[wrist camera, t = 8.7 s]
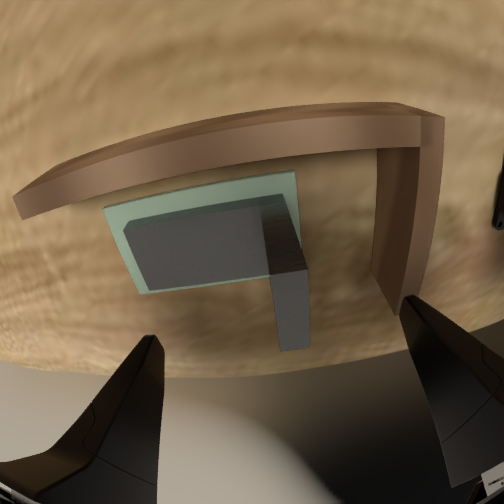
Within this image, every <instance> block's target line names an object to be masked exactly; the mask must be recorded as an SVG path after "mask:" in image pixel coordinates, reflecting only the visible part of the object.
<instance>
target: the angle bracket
mask: <svg viewBox="0 0 504 504" xmlns="http://www.w3.org/2000/svg"><path fill="white" fill-rule="evenodd" d="M123 232H124V235H125V237H126V240H127V242H128V244H129V247H130V249H131V251H132V254H133V256H134V258H135V261H136V263H137V265H138V268H139V270H140V272H141V274H142V276H143V279H144V281H145V283H146V285H147V287H148V289H149V291H153V290H161V289H169V288H177V287H184V286H192V285H200V284H207V283H214V282H222V281H229V280H236V279H243V278H250V277H257V276H264V275H269V276H270V282H271V289H272V296H273V303H274V310H275V316H276V323H277V330H278V337H279V345H280V352H282V351H289V350H295V349H301V348H307V347H310V311H309V280H308V268H307V265H306V261H305V258H304V255H303V252H302V249H301V246H300V243H299V240H298V237H297V234H296V231H295V228H294V225H293V222H292V219H291V216H290V213H289V210H288V207H287V204H286V202H285V199H284V196H283V193H281V194H274V195H268V196H261V197H254V198H248V199H242V200H236V201H230V202H224V203H218V204H212V205H206V206H201V207H195V208H190V209H184V210H179V211H174V212H169V213H164V214H159V215H154V216H149V217H144V218H139V219H135V220H130V221H128V223H127V224H126V226H125V228H124V229H123Z"/></svg>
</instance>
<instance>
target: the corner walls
mask: <svg viewBox="0 0 504 504" xmlns="http://www.w3.org/2000/svg"><path fill="white" fill-rule="evenodd" d="M444 129H445V117H442V116H439V115H436V114H433V113H430V112H427V111H424V110H421V109H417V108H414V107H411V106H407V105H403V104H400V103H390V102H356V103H330V104H314V105H302V106H292V107H282V108H274V109H266V110H259V111H252V112H245V113H239V114H233V115H227V116H222V117H217V118H212V119H207V120H202V121H197V122H193V123H188V124H184V125H180V126H175V127H171V128H167V129H163V130H160V131H156V132H152V133H149V134H145V135H142V136H138V137H135V138H131V139H128V140H125V141H122V142H119V143H115V144H112V145H109V146H106V147H104V148H101V149H98V150H95V151H92V152H89V153H87V154H84V155H81V156H79V157H76V158H73V159H71V160H68V161H66V162H63V163H61V164H59V165H56V166H54V167H53V168H51V169H50V170H48V171H47V172H46V173H44V174H43V175H41V176H40V177H38V178H37V179H35V180H34V181H33V182H31V183H30V184H29V185H27V186H26V187H25V188H23V189H22V190H21V191H19V192H18V193H17V194H15V195H14V196H13V200H14V202H15V205H16V207H17V210H18V212H19V214H20V216H21V219H22V220H25V219H27V218H30V217H33V216H36V215H38V214H41V213H44V212H47V211H50V210H53V209H56V208H59V207H62V206H65V205H68V204H71V203H74V202H78V201H81V200H84V199H88V198H91V197H94V196H98V195H101V194H105V193H108V192H112V191H116V190H119V189H123V188H127V187H131V186H135V185H139V184H143V183H147V182H151V181H155V180H159V179H164V178H168V177H173V176H177V175H182V174H186V173H191V172H196V171H201V170H206V169H212V168H217V167H222V166H228V165H234V164H240V163H246V162H252V161H259V160H266V159H273V158H280V157H287V156H295V155H304V154H313V153H322V152H333V151H344V150H358V149H373V148H377V198H376V217H375V231H374V243H373V253H372V263H371V272H372V274H373V275H374V277H375V279H376V281H377V283H378V284H379V286H380V288H381V290H382V292H383V294H384V296H385V298H386V299H387V301H388V303H389V305H390V307H391V309H392V311H393V313H394V315H395V316H396V315H399V311H400V307H401V304H402V300H403V298H404V297H405V296H408V295H415V296H417V297H418V294H419V291H420V287H421V284H422V280H423V276H424V272H425V268H426V264H427V259H428V255H429V250H430V246H431V241H432V236H433V231H434V225H435V219H436V213H437V207H438V200H439V192H440V184H441V175H442V164H443V151H444Z"/></svg>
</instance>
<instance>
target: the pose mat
mask: <svg viewBox="0 0 504 504" xmlns="http://www.w3.org/2000/svg"><path fill="white" fill-rule="evenodd" d="M281 193H283V196H284V199H285V202H286V204H287V207H288V210H289V213H290V216H291V219H292V222H293V225H294V228H295V231H296V234H297V237H298V240H299V243H300V246H301V234H300V222H299V210H298V199H297V188H296V178H295V171H294V170H290V171H282V172H275V173H268V174H262V175H255V176H249V177H242V178H236V179H231V180H225V181H219V182H214V183H208V184H203V185H198V186H193V187H188V188H183V189H178V190H173V191H168V192H164V193H159V194H155V195H150V196H146V197H142V198H137V199H133V200H129V201H125V202H121V203H117V204H113V205H109V206H105V207H104V208H103V209H102V210H103V212H104V215H105V217H106V220H107V222H108V225H109V227H110V230H111V232H112V235H113V237H114V239H115V242H116V244H117V246H118V248H119V251H120V253H121V255H122V257H123V260H124V262H125V264H126V266H127V268H128V270H129V273H130V275H131V277H132V279H133V281H134V283H135V285H136V287H137V289H138V291H139V293H140V294H149V293H157V292H165V291H173V290H181V289H189V288H197V287H204V286H212V285H219V284H226V283H233V282H240V281H247V280H254V279H261V278H268V277H270V276H269V275H264V276H257V277H250V278H243V279H236V280H229V281H222V282H214V283H207V284H200V285H192V286H184V287H177V288H169V289H161V290H153V291H149V289H148V287H147V285H146V283H145V281H144V279H143V276H142V274H141V272H140V270H139V268H138V265H137V263H136V261H135V258H134V256H133V254H132V251H131V249H130V247H129V244H128V242H127V240H126V237H125V235H124V232H123V229H124V228H125V226H126V224H127V223H128V221H130V220H135V219H139V218H144V217H149V216H154V215H159V214H164V213H169V212H174V211H179V210H184V209H190V208H195V207H201V206H206V205H212V204H218V203H224V202H230V201H236V200H242V199H248V198H254V197H261V196H268V195H274V194H281ZM301 249H302V248H301Z"/></svg>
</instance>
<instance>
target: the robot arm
mask: <svg viewBox="0 0 504 504" xmlns="http://www.w3.org/2000/svg"><path fill="white" fill-rule="evenodd" d="M493 227H494V228H495V229H497V230H503V229H504V171H503V177H502V183H501V189H500V194H499V199H498V204H497V208H496V213H495V217H494V221H493ZM399 317H400V321H401V324H402V327H403V331H404V334H405V338H406V341H407V345H408V348H409V352H410V354H411V357H412V359H413V362H414V365H415V367H416V370H417V373H418V375H419V378H420V381H421V384H422V386H423V389H424V392H425V395H426V398H427V401H428V404H429V407H430V410H431V413H432V416H433V419H434V422H435V425H436V429H437V432H438V436H439V439H440V442H441V447H442V450H443V454H444V457H445V462H446V466H447V470H448V474H449V479H450V483H451V486H452V487H455V486H457V485H459V484H461V483H464V482H466V481H468V480H470V479H472V478H474V477H476V476H478V475H480V474H481V475H482V479H483V480H482V481H480V482H478V483H477V484H475V487H474V489H473V491H472V493H471V495H470V497H469V499H468V501H467V503H466V504H504V358H502V357H501V356H499V355H498V354H496V353H495V352H493V351H492V350H491V349H489V348H488V347H487V346H485V345H484V344H483V343H482V344H481V342H480V341H479V340H477V339H476V338H475V337H473V336H472V335H470V334H469V333H468V332H467V331H465V330H464V329H462V328H461V327H460V326H458V325H457V324H456V323H454V322H453V321H451V320H450V319H449V318H447V317H446V316H444V315H443V314H442V313H440V312H439V311H437V310H436V309H434V308H433V307H431V306H430V305H429V304H427V303H426V302H424V301H423V300H421V299H420V298H418V297H417V296H415V295H408V296H405V297H404V298H403V300H402V304H401V307H400V311H399ZM164 363H165V353H164V348H163V347H162V345H161V343H160V341H159V340H158V338H157V337H156V335H145V336H144V337H143V338H142V339H141V340H140V341H139V343H138V344H137V345H136V346H135V347H134V349H133V350H132V351H131V352H130V354H129V355H128V356H127V357H126V359H125V360H124V361H123V362H122V364H121V365H120V366H119V367H118V369H117V370H116V371H115V372H114V374H113V375H112V376H111V378H110V379H109V380H108V382H107V383H106V384H105V385H104V386H103V388H102V389H101V390H100V392H99V393H98V394H97V395H96V397H95V398H94V399H93V401H92V403H90V404H89V406H88V407H87V408H86V409H85V411H84V412H83V413H82V415H81V416H80V417H79V418H78V419H77V420H76V422H75V423H74V424H73V425H72V426H71V427H70V428H69V430H67V431H66V433H65V434H64V435H63V436H62V437H61V438H60V439H59V440H58V441H57V442H56V443H55V444H54V445H53V446H52V447H51V448H50V449H48V450H47V451H45V452H43V453H40V454H36V455H32V456H29V457H25V458H21V459H17V460H13V461H9V462H0V482H1V483H3V484H4V485H6V486H8V487H9V488H11V489H12V490H11V492H10V491H8V490H5V489H4V488H2V487H0V504H157V478H158V459H159V444H160V431H161V419H162V408H163V399H164Z"/></svg>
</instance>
